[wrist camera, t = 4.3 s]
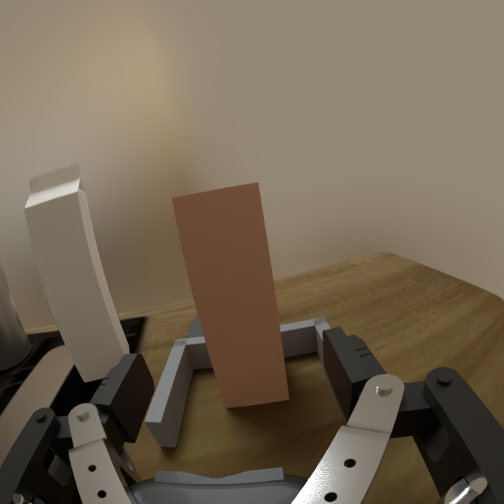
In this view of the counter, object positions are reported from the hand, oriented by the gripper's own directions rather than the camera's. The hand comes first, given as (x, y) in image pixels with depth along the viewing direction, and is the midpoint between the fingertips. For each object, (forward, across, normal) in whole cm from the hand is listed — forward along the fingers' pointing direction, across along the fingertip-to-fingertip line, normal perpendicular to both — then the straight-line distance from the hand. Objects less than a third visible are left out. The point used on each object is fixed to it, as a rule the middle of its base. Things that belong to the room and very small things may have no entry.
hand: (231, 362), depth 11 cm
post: (+8, 0, +9) cm, 12 cm away
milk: (+13, +17, +9) cm, 23 cm away
